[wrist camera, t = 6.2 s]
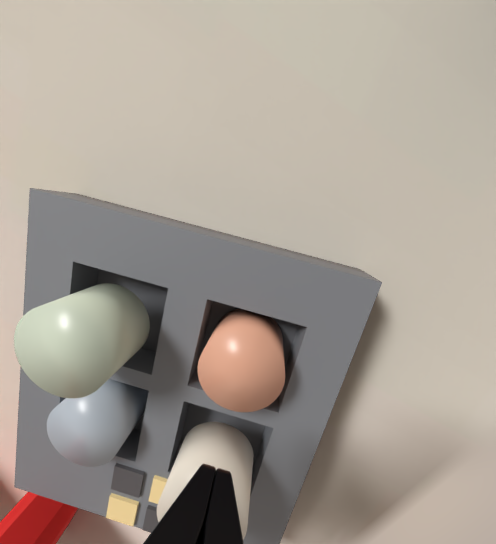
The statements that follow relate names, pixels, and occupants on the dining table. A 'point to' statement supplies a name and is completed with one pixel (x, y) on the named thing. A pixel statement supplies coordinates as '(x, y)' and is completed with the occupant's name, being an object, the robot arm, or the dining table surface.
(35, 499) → the french fries
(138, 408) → the slate button
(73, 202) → the button board
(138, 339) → the sage button
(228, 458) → the ivory button
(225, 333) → the terracotta button
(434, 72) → the dining table surface
